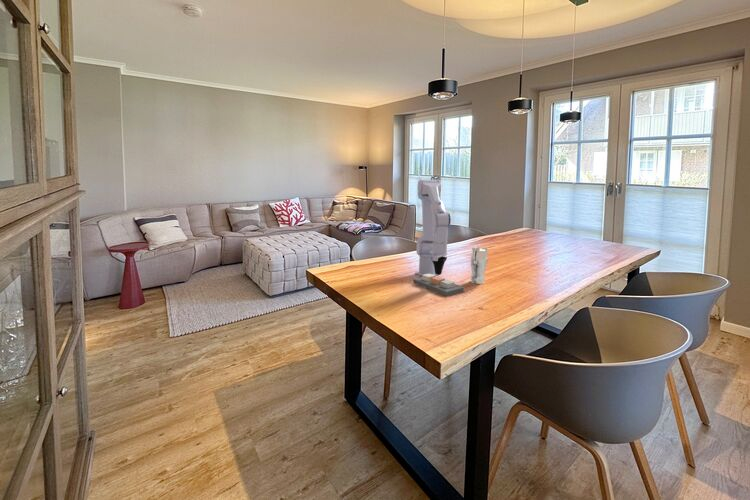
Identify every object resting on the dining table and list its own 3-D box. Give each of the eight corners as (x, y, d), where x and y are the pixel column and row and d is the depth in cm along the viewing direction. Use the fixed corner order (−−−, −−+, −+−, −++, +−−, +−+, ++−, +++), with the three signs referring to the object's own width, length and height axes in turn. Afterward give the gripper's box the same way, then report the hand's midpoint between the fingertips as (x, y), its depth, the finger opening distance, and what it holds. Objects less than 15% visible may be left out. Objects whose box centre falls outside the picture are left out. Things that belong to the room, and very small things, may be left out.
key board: (429, 279, 168) (430, 275, 168) (463, 291, 152) (464, 287, 152) (413, 283, 162) (413, 278, 162) (446, 296, 146) (446, 291, 146)
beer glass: (486, 281, 167) (489, 248, 164) (483, 285, 161) (486, 251, 158) (470, 278, 170) (473, 246, 167) (467, 283, 164) (470, 249, 161)
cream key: (428, 278, 164) (429, 273, 163) (435, 281, 161) (435, 275, 160) (422, 280, 162) (422, 274, 161) (428, 282, 159) (428, 277, 158)
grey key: (447, 285, 155) (447, 279, 155) (454, 288, 152) (454, 282, 152) (440, 287, 153) (440, 281, 152) (447, 289, 150) (447, 283, 149)
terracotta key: (437, 282, 160) (438, 276, 159) (444, 284, 156) (444, 278, 156) (431, 283, 157) (431, 277, 157) (437, 286, 154) (438, 280, 154)
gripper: (435, 238, 161) (433, 268, 164) (425, 244, 148) (424, 277, 151) (451, 239, 158) (449, 270, 161) (443, 246, 145) (441, 279, 148)
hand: (438, 274), depth 156 cm, fingers closed
